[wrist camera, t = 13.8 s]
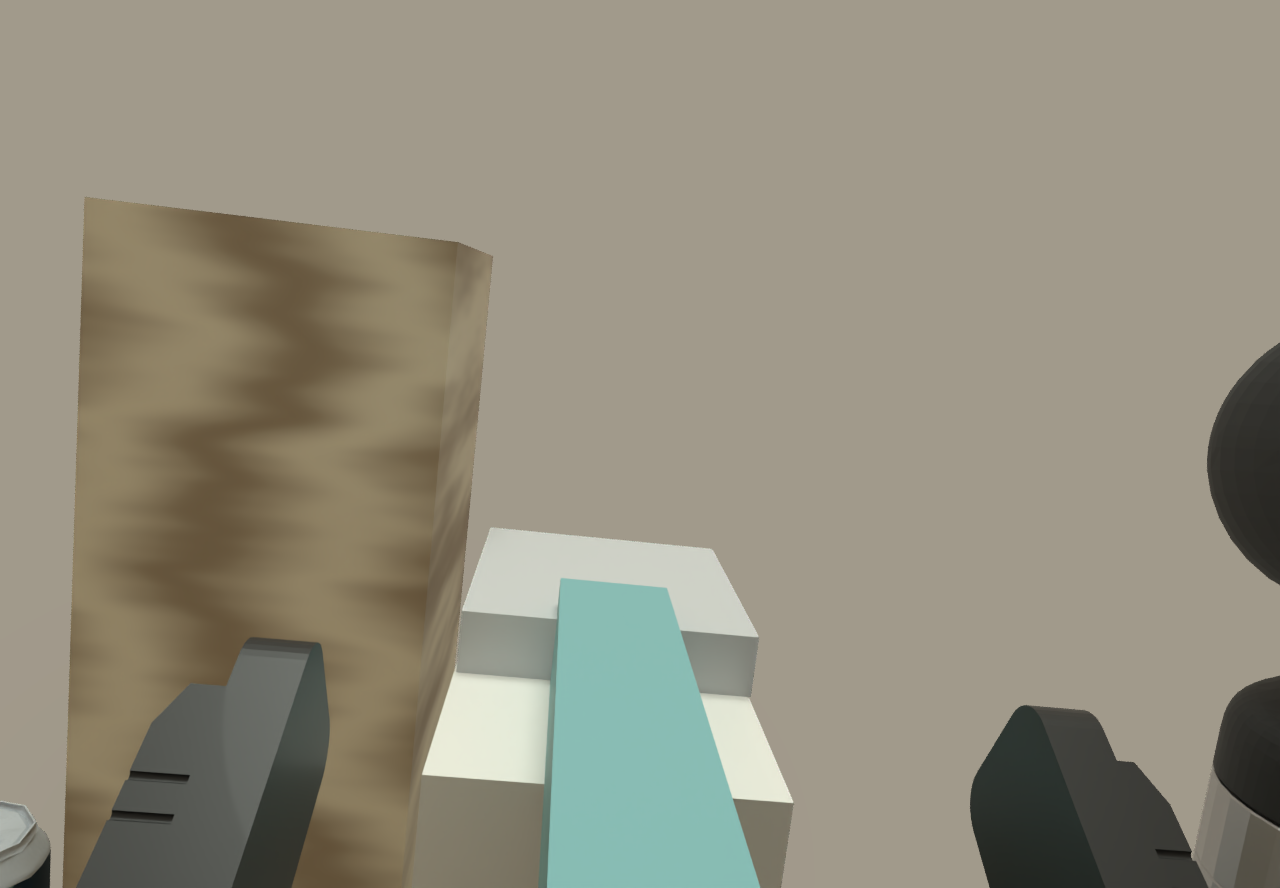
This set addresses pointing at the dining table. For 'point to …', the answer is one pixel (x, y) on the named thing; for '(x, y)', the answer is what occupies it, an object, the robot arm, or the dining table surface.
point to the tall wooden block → (272, 498)
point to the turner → (620, 701)
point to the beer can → (22, 849)
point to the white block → (514, 785)
